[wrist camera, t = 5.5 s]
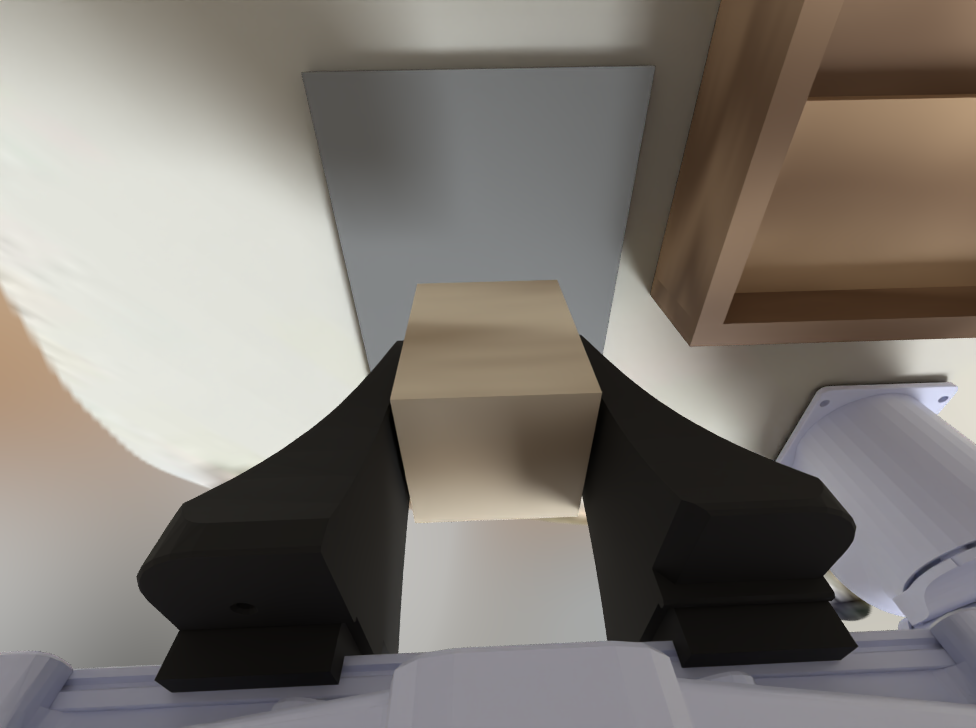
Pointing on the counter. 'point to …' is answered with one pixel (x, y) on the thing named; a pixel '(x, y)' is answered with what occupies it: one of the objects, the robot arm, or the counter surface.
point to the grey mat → (479, 182)
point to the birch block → (494, 402)
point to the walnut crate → (828, 177)
